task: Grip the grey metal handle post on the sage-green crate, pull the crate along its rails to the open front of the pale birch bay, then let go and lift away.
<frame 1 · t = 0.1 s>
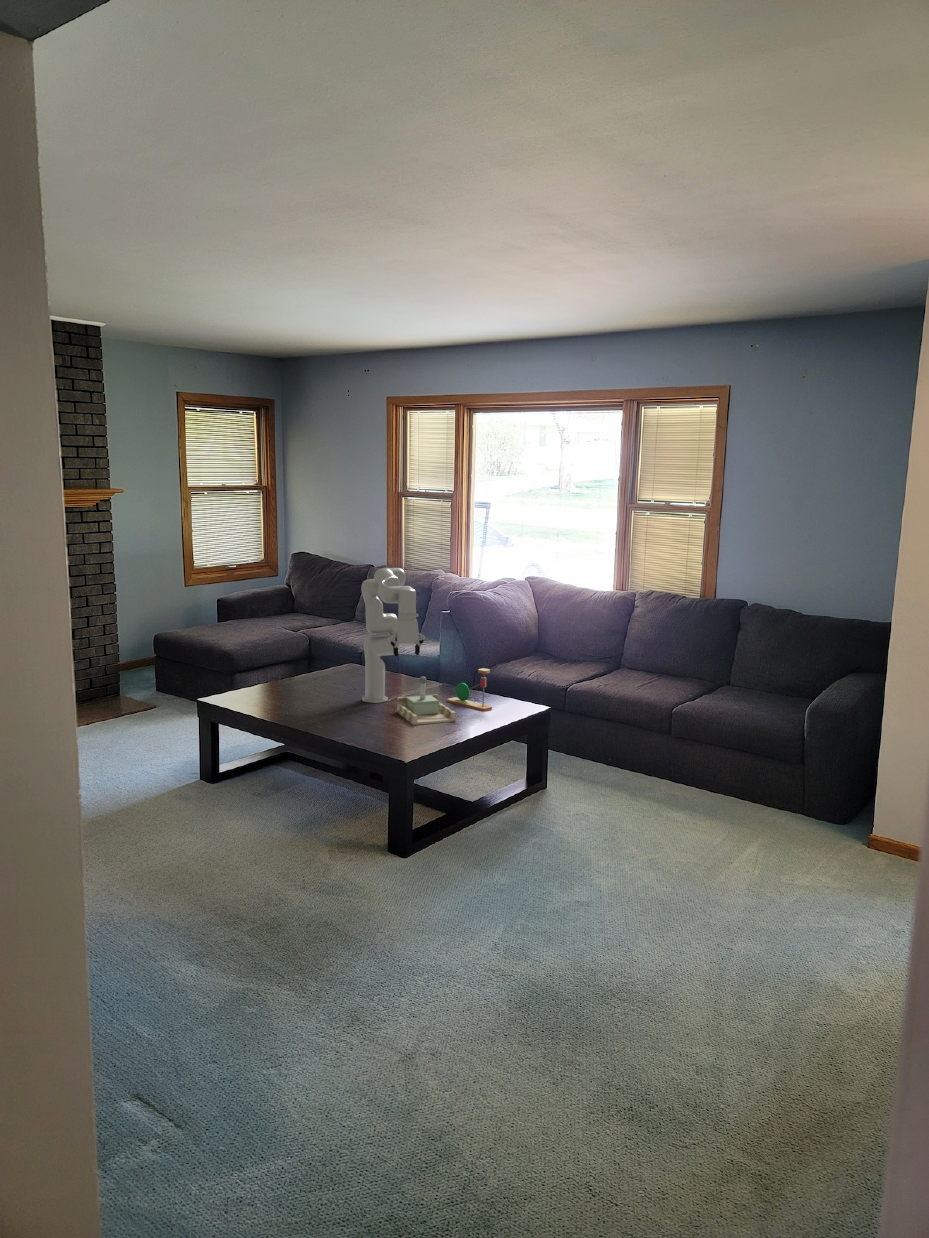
hand: (406, 655, 386), 31 cm above the table, fingers open, 9 cm apart
crate: (422, 694, 406), point 10 cm above the table, slide at 0.0 cm
bay: (425, 716, 404), on the table
crank mechanism: (469, 705, 425), on the table
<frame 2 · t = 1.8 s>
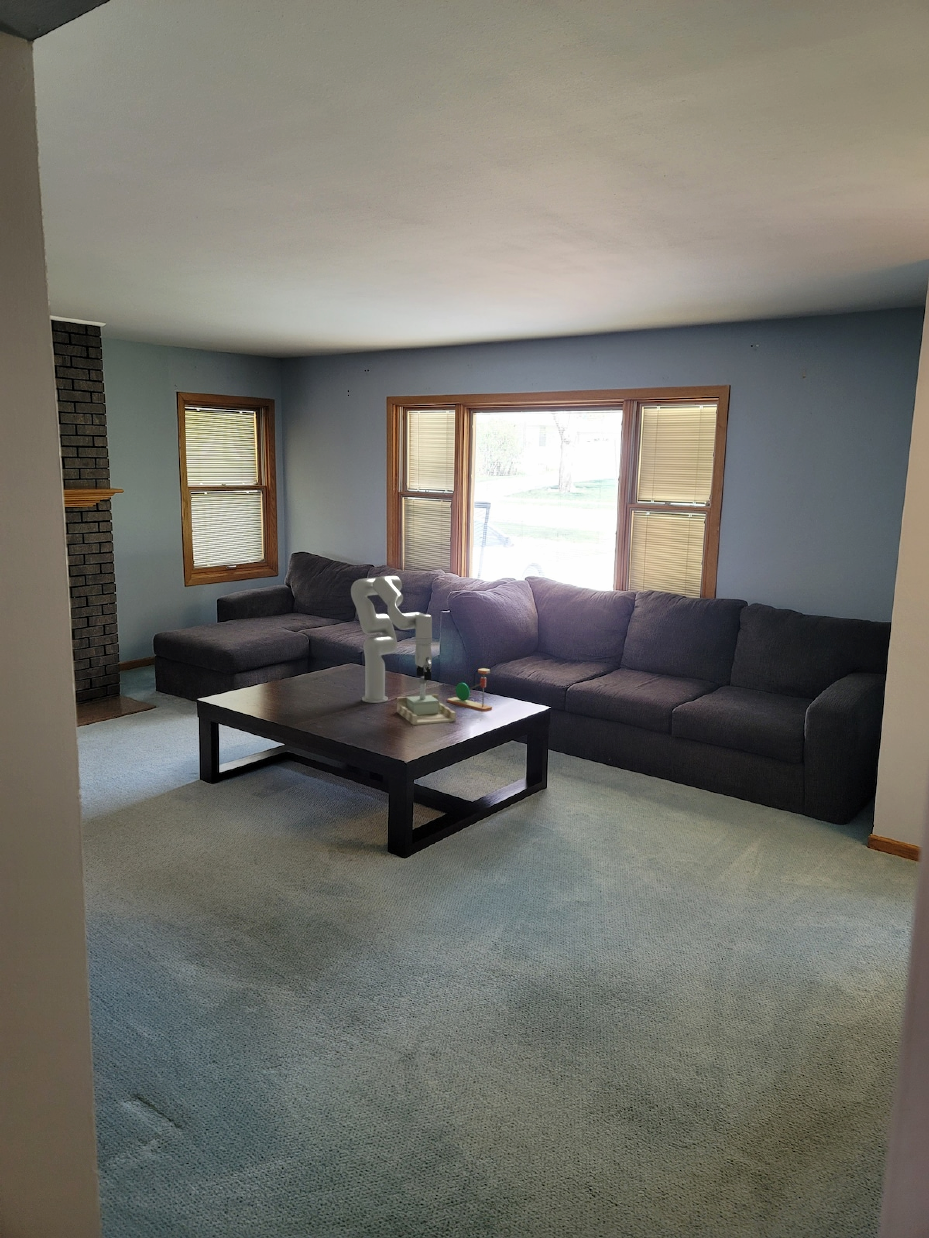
hand: (423, 677, 405), 17 cm above the table, fingers open, 9 cm apart
nothing on the table moved.
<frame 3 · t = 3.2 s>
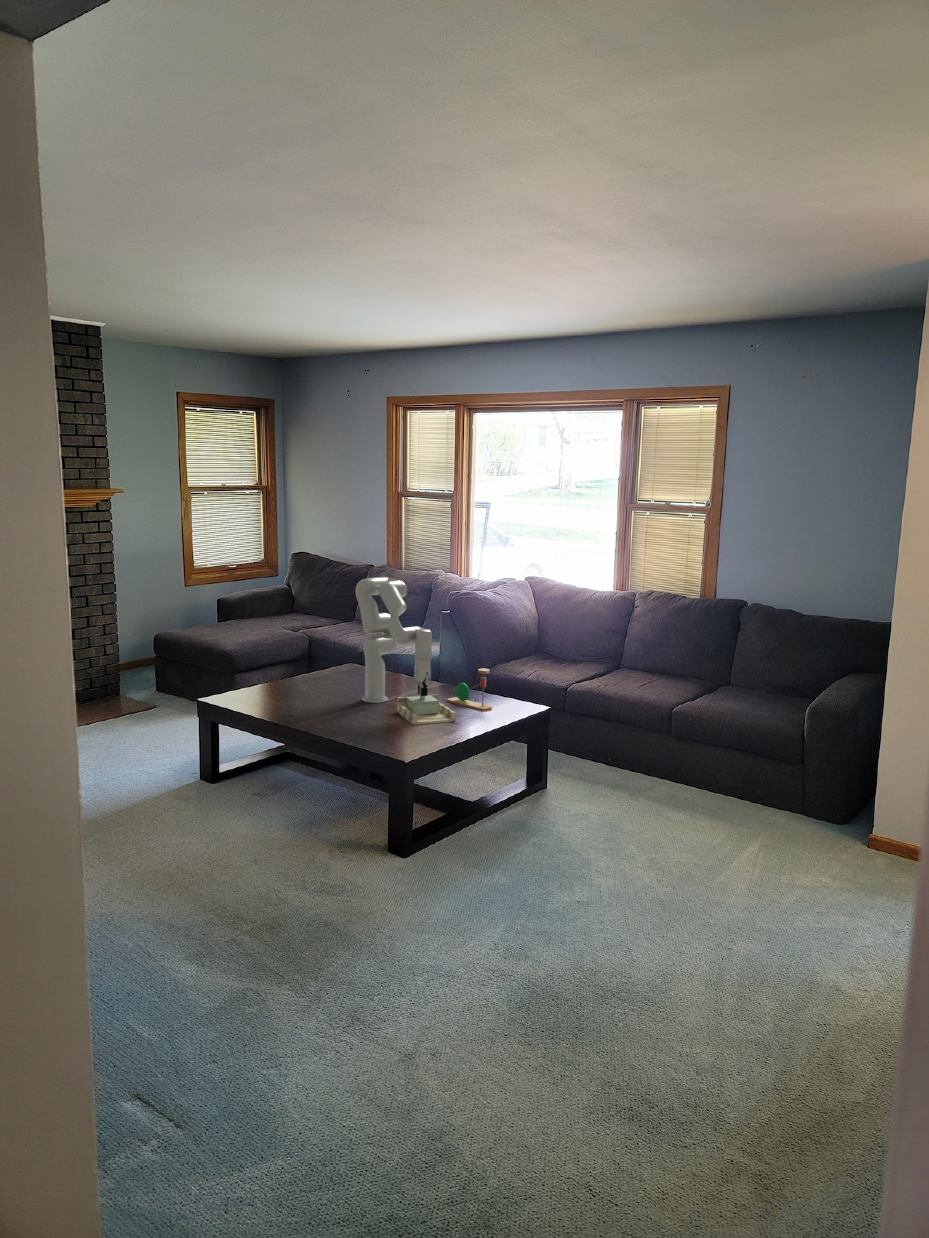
hand: (422, 694, 406), 9 cm above the table, fingers closed on crate, 2 cm apart
crate: (422, 694, 406), point 9 cm above the table, slide at 0.0 cm, touching gripper
everything else where it was.
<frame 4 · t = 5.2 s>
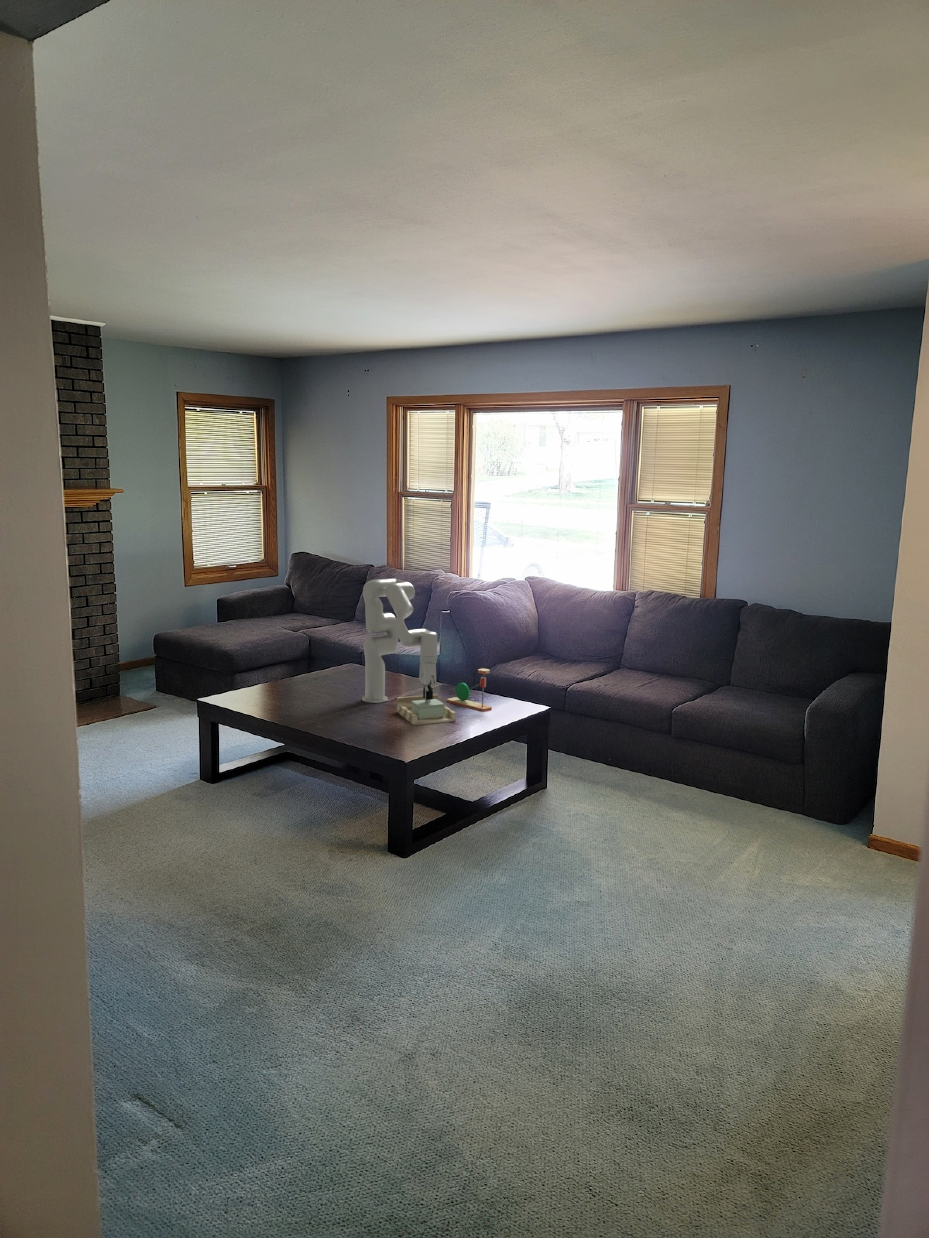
hand: (427, 698, 400), 9 cm above the table, fingers closed on crate, 2 cm apart
crate: (427, 697, 400), point 9 cm above the table, slide at 6.7 cm, touching gripper
everything else where it was.
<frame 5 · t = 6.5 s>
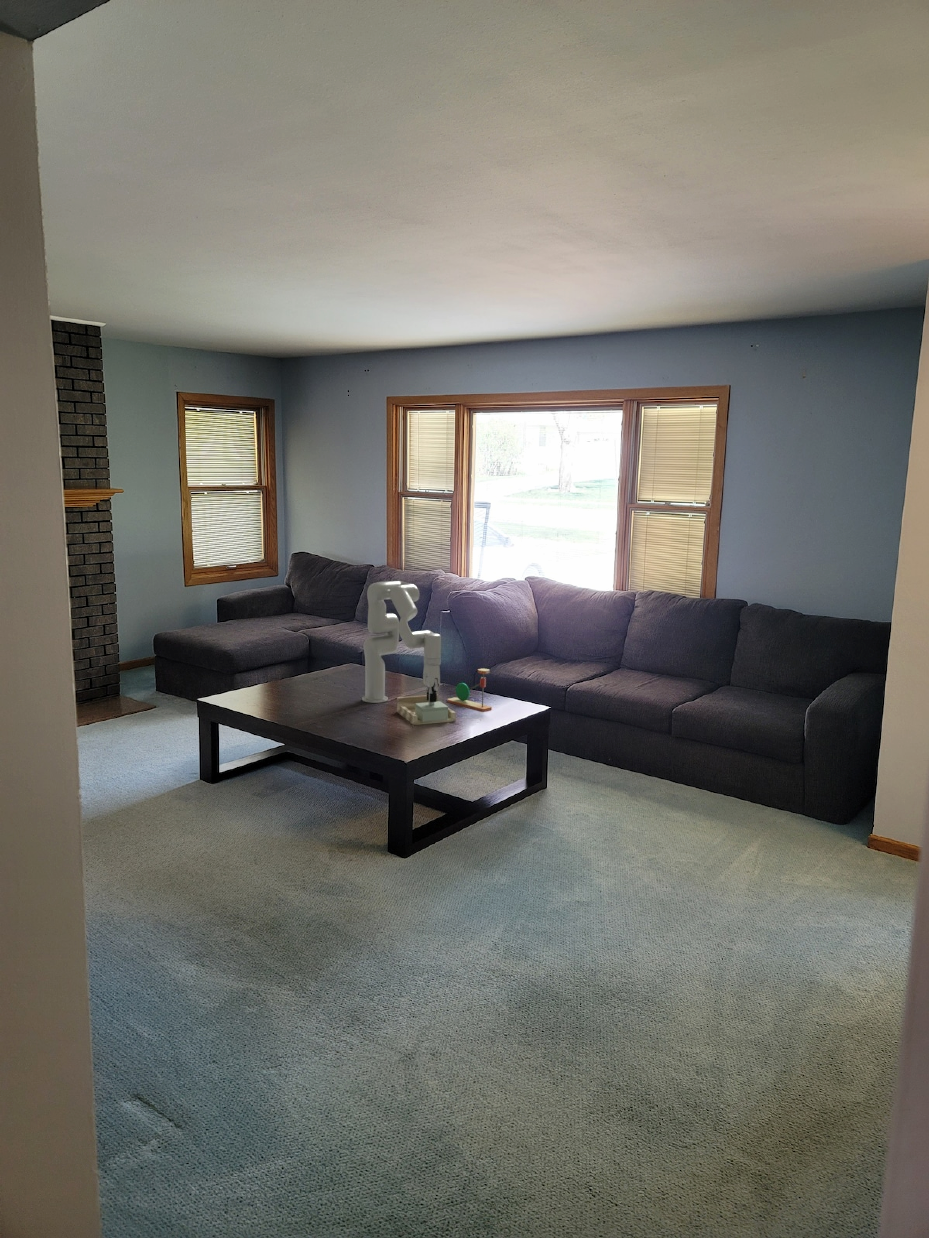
hand: (431, 700, 396), 9 cm above the table, fingers closed on crate, 2 cm apart
crate: (431, 699, 396), point 9 cm above the table, slide at 11.5 cm, touching gripper
everything else where it was.
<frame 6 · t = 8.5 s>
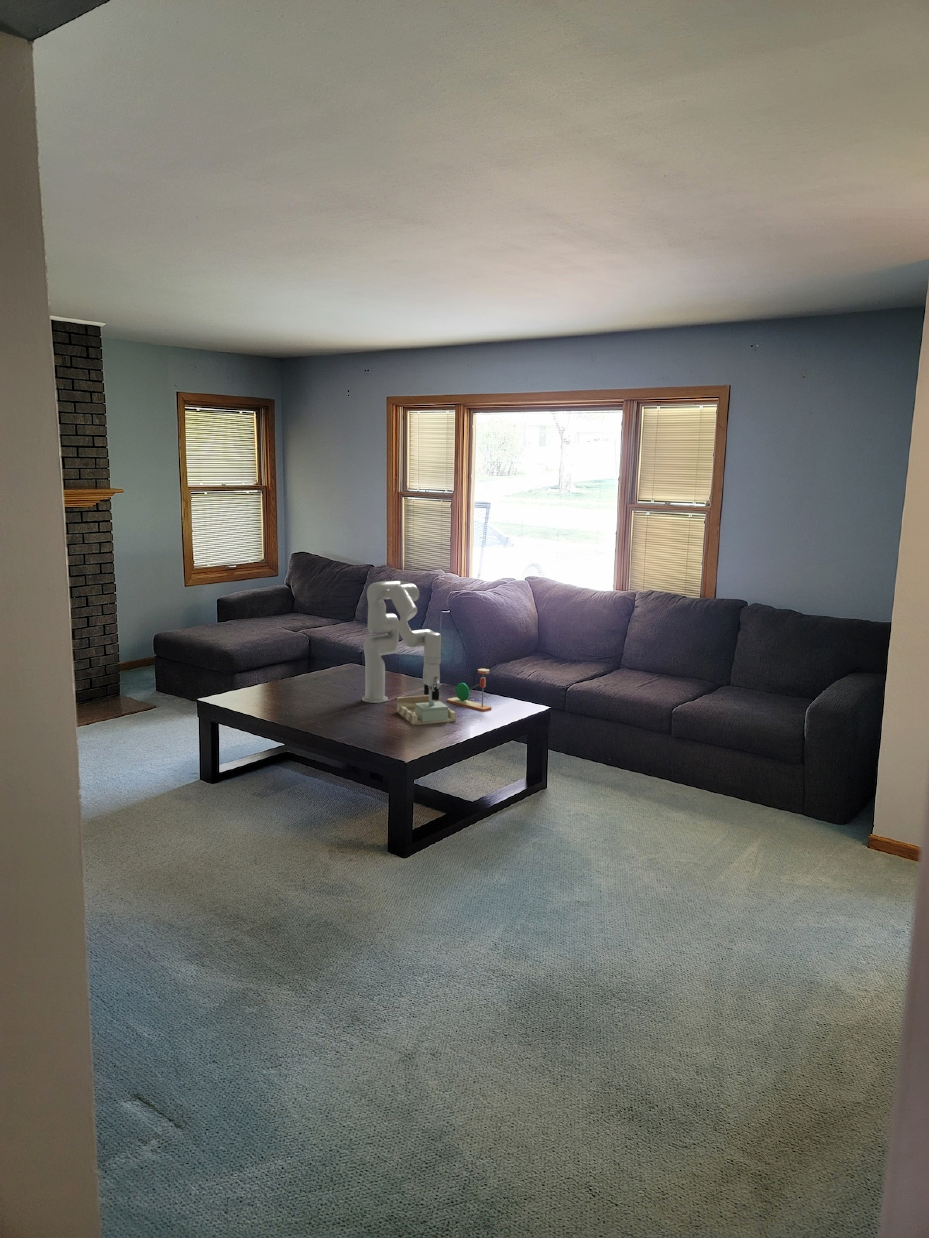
hand: (431, 697, 396), 11 cm above the table, fingers open, 9 cm apart
crate: (431, 700, 396), point 10 cm above the table, slide at 11.5 cm
everything else where it was.
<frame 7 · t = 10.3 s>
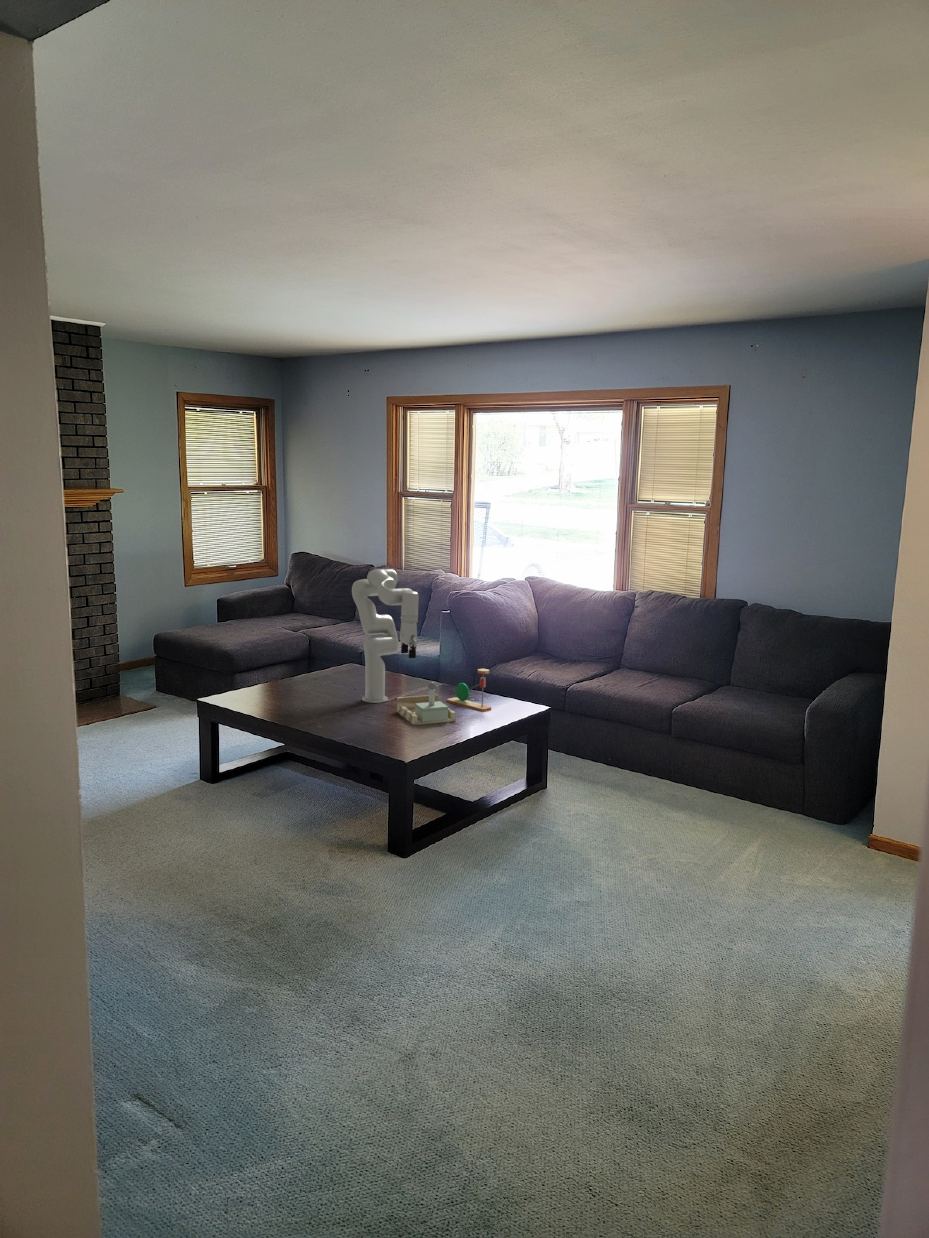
hand: (408, 655, 399), 28 cm above the table, fingers open, 9 cm apart
nothing on the table moved.
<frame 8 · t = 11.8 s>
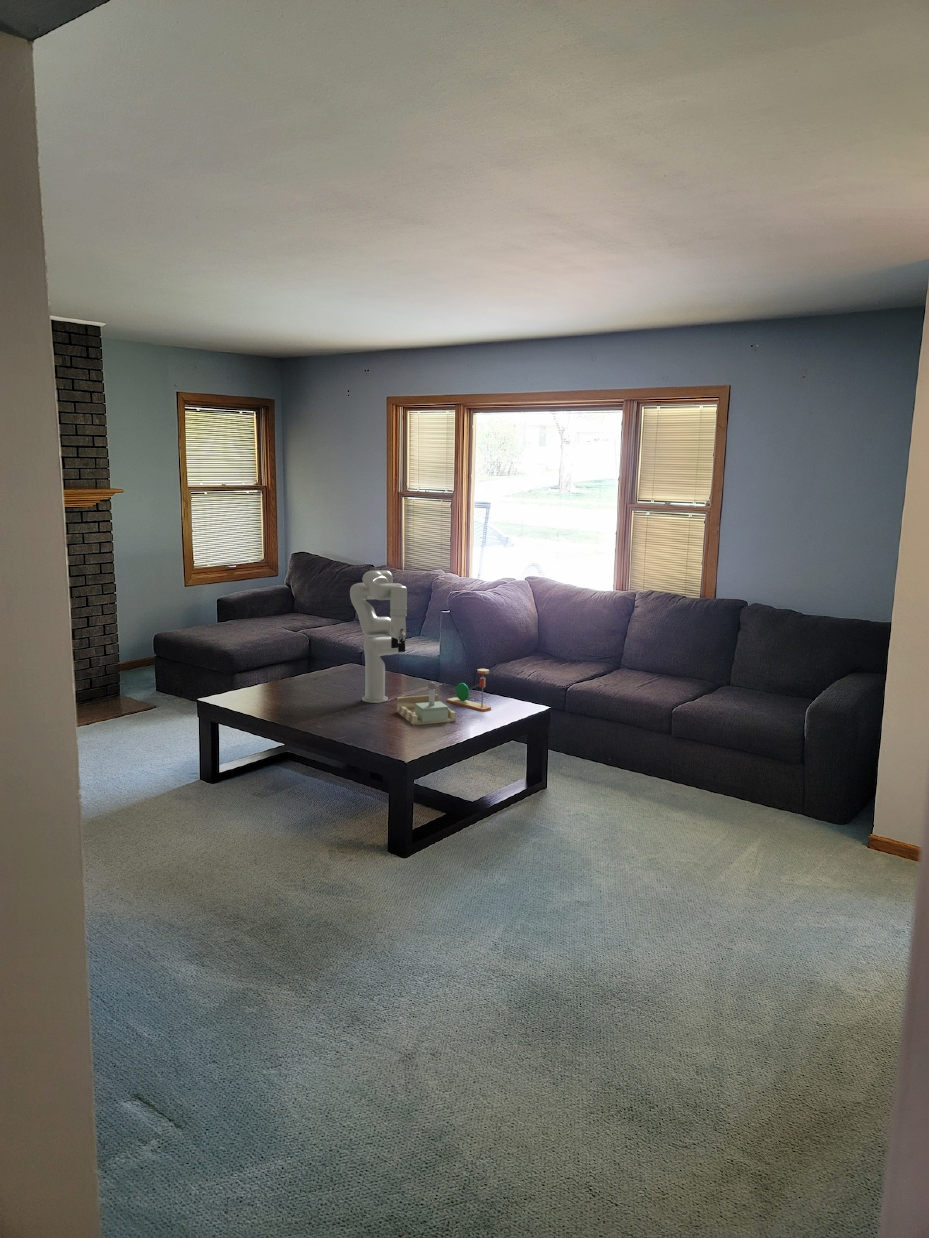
hand: (398, 649, 402), 30 cm above the table, fingers open, 9 cm apart
nothing on the table moved.
at the end: crate slide at 11.5 cm; the gripper is holding nothing; crank mechanism moved 0.6 cm from its start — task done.
